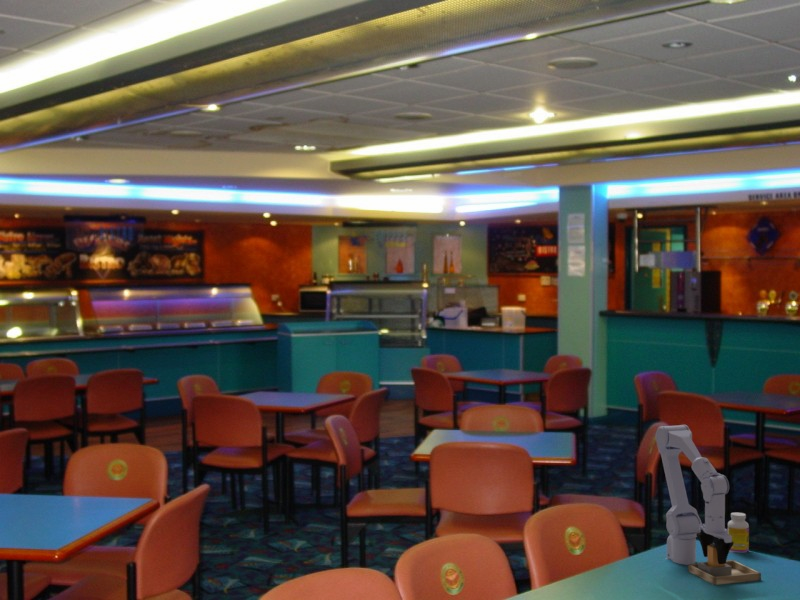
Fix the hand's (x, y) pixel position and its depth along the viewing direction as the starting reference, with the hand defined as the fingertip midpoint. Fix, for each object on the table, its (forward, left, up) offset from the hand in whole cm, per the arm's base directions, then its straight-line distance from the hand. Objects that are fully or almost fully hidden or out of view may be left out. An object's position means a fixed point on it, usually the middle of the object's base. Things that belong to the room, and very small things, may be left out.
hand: (714, 560), depth 304 cm
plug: (0, +1, -3) cm, 3 cm away
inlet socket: (0, 0, -5) cm, 5 cm away
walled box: (0, +3, -6) cm, 7 cm away
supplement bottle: (-22, +24, -6) cm, 33 cm away
